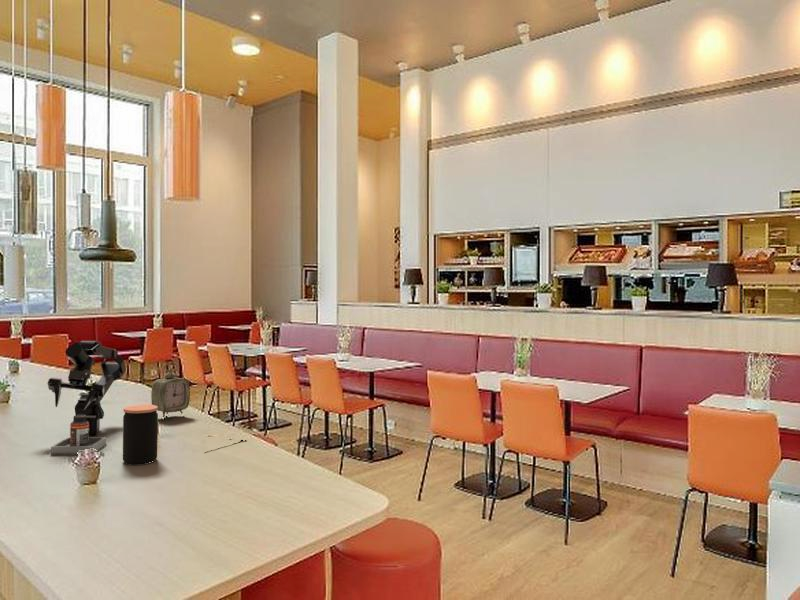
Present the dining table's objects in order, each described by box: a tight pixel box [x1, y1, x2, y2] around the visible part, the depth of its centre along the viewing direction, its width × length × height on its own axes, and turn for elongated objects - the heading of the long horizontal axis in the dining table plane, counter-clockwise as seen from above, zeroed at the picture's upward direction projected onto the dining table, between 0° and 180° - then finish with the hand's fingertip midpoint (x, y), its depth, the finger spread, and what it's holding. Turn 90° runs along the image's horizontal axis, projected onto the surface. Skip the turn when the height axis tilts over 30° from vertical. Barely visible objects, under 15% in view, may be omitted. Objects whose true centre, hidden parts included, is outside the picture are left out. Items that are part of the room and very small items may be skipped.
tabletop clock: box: [150, 361, 191, 417], centre depth 274 cm, size 14×9×25 cm, turn 148°
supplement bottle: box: [69, 414, 90, 446], centre depth 219 cm, size 6×6×11 cm
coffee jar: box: [122, 404, 159, 465], centre depth 206 cm, size 11×11×18 cm
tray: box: [50, 436, 107, 456], centre depth 219 cm, size 14×14×3 cm
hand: (69, 408), depth 226 cm, fingers open, 9 cm apart
